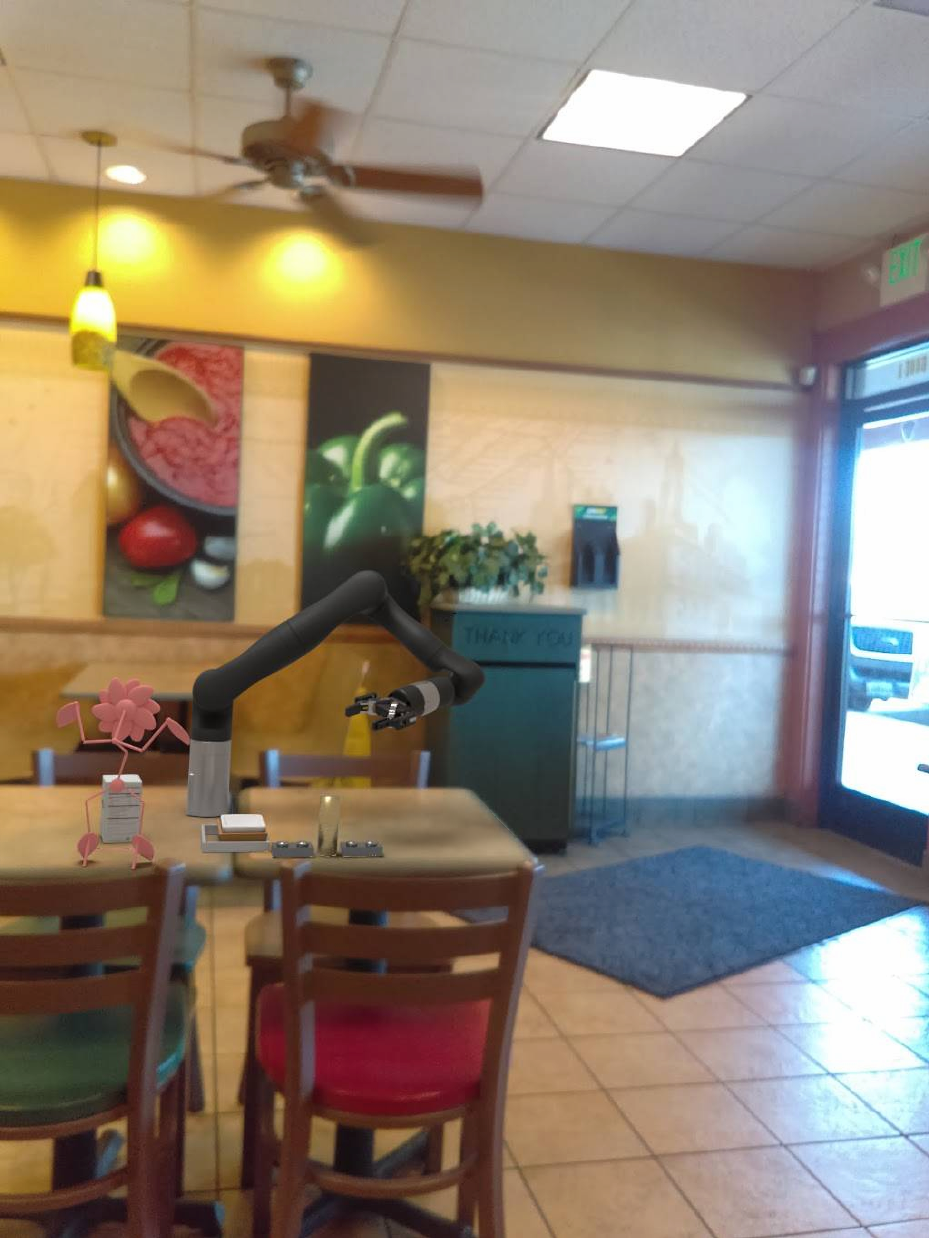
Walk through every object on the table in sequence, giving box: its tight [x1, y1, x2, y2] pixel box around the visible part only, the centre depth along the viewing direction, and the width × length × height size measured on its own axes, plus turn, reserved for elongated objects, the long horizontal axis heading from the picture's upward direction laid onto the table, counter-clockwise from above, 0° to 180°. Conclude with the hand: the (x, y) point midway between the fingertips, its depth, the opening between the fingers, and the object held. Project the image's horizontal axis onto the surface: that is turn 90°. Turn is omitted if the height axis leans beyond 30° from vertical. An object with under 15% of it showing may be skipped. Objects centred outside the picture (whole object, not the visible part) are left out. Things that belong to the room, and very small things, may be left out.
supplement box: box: [99, 774, 143, 844], centre depth 219 cm, size 7×7×13 cm
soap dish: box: [216, 813, 269, 842], centre depth 221 cm, size 12×10×5 cm
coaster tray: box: [200, 823, 270, 853], centre depth 221 cm, size 13×15×2 cm
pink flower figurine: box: [55, 677, 191, 870], centre depth 204 cm, size 15×26×35 cm, turn 91°
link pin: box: [316, 793, 341, 856], centre depth 216 cm, size 4×4×12 cm
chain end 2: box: [339, 839, 383, 857], centre depth 218 cm, size 8×4×3 cm, turn 105°
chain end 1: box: [270, 840, 315, 858], centre depth 214 cm, size 8×4×3 cm, turn 105°
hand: (359, 719), depth 224 cm, fingers open, 8 cm apart
